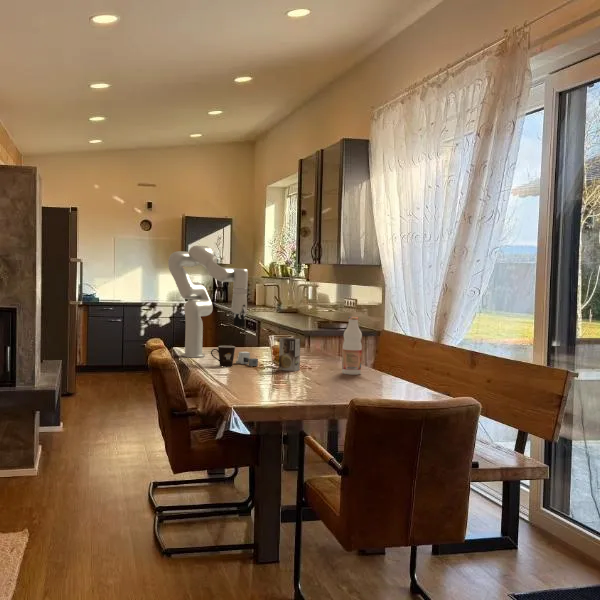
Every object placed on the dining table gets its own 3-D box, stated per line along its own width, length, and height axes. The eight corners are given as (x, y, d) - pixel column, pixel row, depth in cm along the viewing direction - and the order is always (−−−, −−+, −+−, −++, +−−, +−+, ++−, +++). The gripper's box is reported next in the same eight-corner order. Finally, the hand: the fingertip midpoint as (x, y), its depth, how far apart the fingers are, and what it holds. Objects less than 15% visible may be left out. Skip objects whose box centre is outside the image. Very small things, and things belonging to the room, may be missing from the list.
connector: (248, 366, 370) (248, 358, 370) (255, 365, 372) (255, 358, 372) (250, 366, 368) (250, 359, 368) (257, 366, 370) (257, 358, 370)
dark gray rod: (237, 361, 382) (238, 355, 382) (243, 361, 384) (243, 355, 383) (251, 365, 368) (251, 359, 368) (256, 365, 370) (257, 359, 370)
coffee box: (300, 370, 363) (301, 338, 363) (294, 371, 357) (295, 339, 357) (283, 368, 367) (284, 336, 366) (278, 369, 361) (279, 337, 361)
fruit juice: (337, 372, 359) (340, 316, 357) (353, 371, 364) (355, 316, 363) (349, 375, 351) (351, 317, 350) (364, 374, 356) (366, 317, 355)
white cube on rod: (238, 362, 380) (238, 351, 380) (245, 362, 382) (246, 351, 382) (242, 363, 376) (242, 352, 376) (249, 363, 378) (249, 352, 378)
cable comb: (235, 362, 381) (235, 356, 381) (245, 362, 384) (246, 356, 384) (236, 363, 380) (236, 356, 380) (246, 362, 383) (247, 356, 383)
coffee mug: (236, 365, 372) (236, 346, 371) (232, 367, 363) (233, 347, 363) (213, 364, 373) (214, 345, 373) (210, 366, 364) (210, 346, 364)
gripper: (227, 291, 389) (225, 324, 390) (240, 292, 374) (239, 327, 375) (239, 291, 393) (238, 324, 394) (253, 292, 378) (252, 327, 379)
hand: (239, 325), depth 385 cm, fingers open, 5 cm apart
